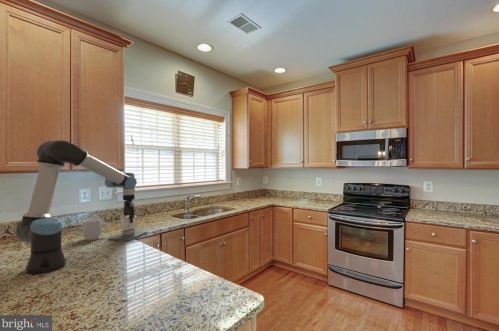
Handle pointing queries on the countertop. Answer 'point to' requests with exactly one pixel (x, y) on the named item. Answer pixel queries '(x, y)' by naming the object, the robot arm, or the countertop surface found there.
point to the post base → (125, 238)
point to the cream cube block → (126, 222)
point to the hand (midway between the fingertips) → (128, 226)
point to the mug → (93, 228)
